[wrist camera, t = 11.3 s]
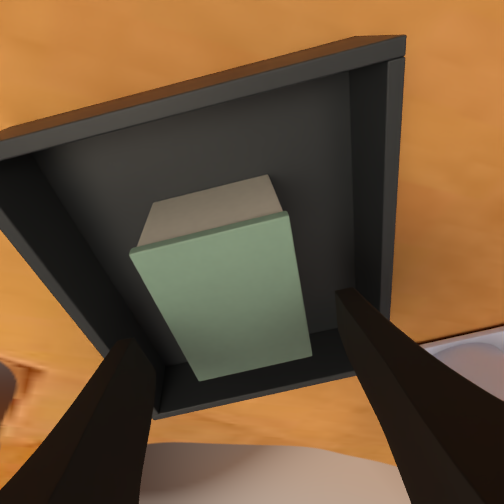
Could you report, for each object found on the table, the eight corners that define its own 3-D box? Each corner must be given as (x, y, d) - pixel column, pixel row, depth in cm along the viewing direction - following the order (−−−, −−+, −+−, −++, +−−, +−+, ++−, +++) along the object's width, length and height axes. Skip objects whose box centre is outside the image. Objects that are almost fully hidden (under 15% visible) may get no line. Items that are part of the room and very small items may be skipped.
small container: (293, 295, 17) (312, 356, 14) (201, 316, 17) (198, 382, 14) (269, 170, 13) (289, 215, 10) (149, 200, 13) (127, 254, 10)
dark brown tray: (361, 320, 19) (387, 369, 17) (162, 366, 20) (153, 420, 17) (356, 35, 11) (407, 33, 8) (8, 127, 11) (-61, 156, 9)
